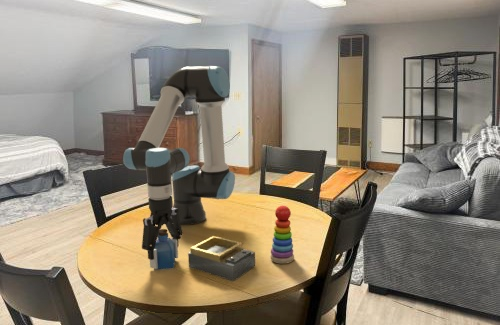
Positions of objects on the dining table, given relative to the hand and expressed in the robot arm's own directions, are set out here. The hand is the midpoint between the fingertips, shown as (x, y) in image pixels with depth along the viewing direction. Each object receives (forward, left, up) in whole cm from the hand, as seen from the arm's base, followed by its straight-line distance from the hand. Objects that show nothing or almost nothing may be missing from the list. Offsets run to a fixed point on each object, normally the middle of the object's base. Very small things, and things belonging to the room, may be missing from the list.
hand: (164, 262), depth 139 cm
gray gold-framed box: (+17, +9, -1) cm, 19 cm away
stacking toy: (+31, +24, -1) cm, 39 cm away
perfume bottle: (0, 0, -1) cm, 1 cm away
